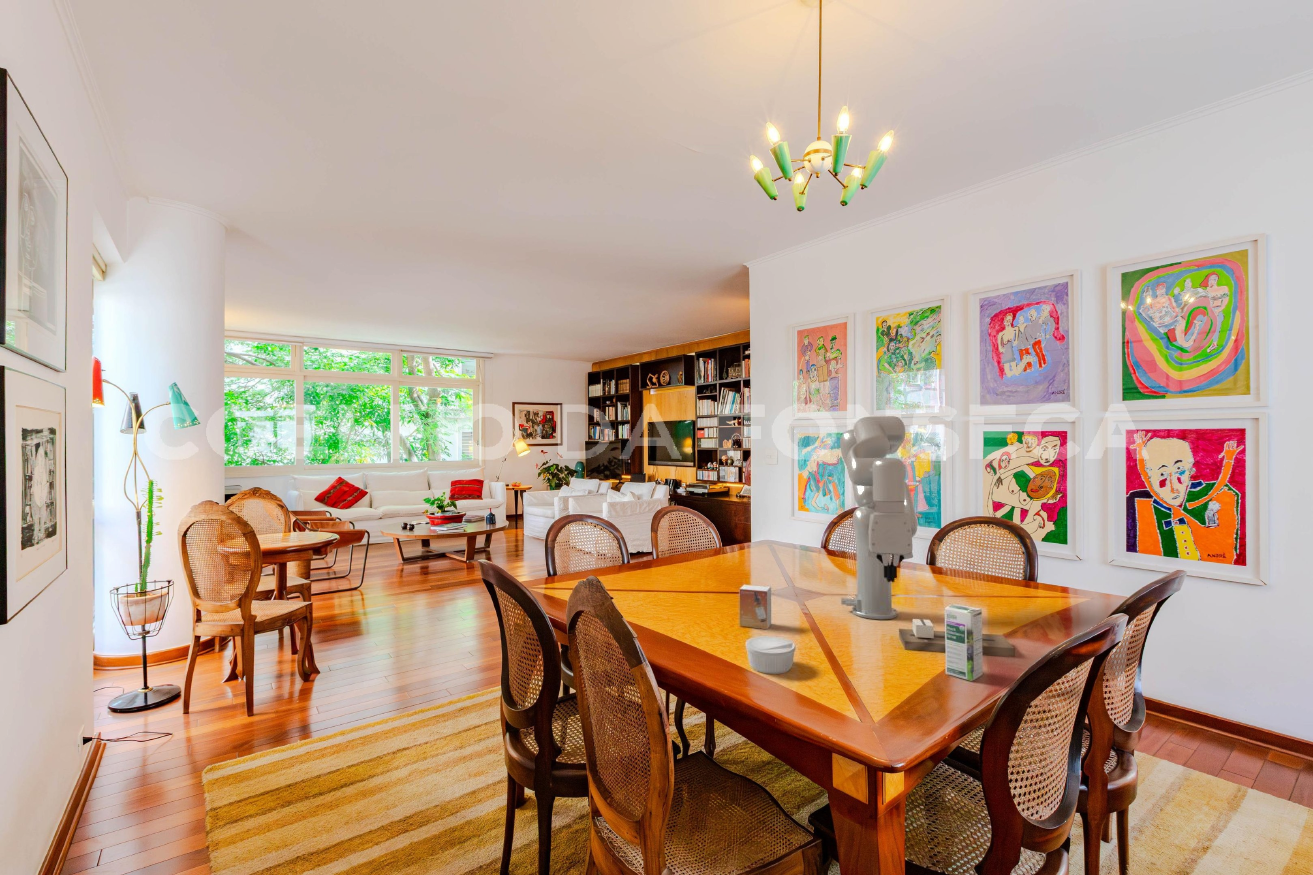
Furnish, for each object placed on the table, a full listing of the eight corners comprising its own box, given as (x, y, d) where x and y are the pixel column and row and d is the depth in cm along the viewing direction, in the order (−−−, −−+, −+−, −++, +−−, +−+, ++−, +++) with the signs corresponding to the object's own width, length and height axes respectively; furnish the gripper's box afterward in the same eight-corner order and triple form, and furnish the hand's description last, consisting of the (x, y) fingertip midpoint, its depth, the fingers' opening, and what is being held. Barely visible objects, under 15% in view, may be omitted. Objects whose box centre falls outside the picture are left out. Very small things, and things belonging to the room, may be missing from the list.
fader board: (904, 649, 146) (904, 640, 146) (898, 636, 156) (898, 628, 156) (1015, 656, 140) (1014, 647, 140) (1001, 642, 150) (1001, 634, 150)
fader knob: (916, 636, 148) (915, 624, 148) (912, 630, 152) (912, 618, 152) (933, 638, 147) (933, 625, 147) (929, 631, 151) (929, 619, 151)
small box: (738, 626, 166) (738, 588, 166) (743, 620, 171) (743, 583, 171) (767, 629, 163) (767, 590, 163) (771, 623, 168) (771, 586, 168)
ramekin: (785, 680, 128) (785, 655, 128) (737, 670, 134) (737, 646, 134) (802, 663, 138) (802, 640, 138) (757, 654, 144) (756, 632, 144)
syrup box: (944, 674, 130) (943, 607, 130) (956, 667, 134) (955, 602, 134) (972, 682, 126) (970, 612, 126) (983, 674, 130) (982, 607, 130)
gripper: (859, 509, 150) (860, 582, 149) (923, 509, 146) (925, 585, 146) (856, 506, 157) (858, 576, 157) (918, 507, 153) (919, 579, 153)
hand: (890, 580), depth 151 cm, fingers closed
